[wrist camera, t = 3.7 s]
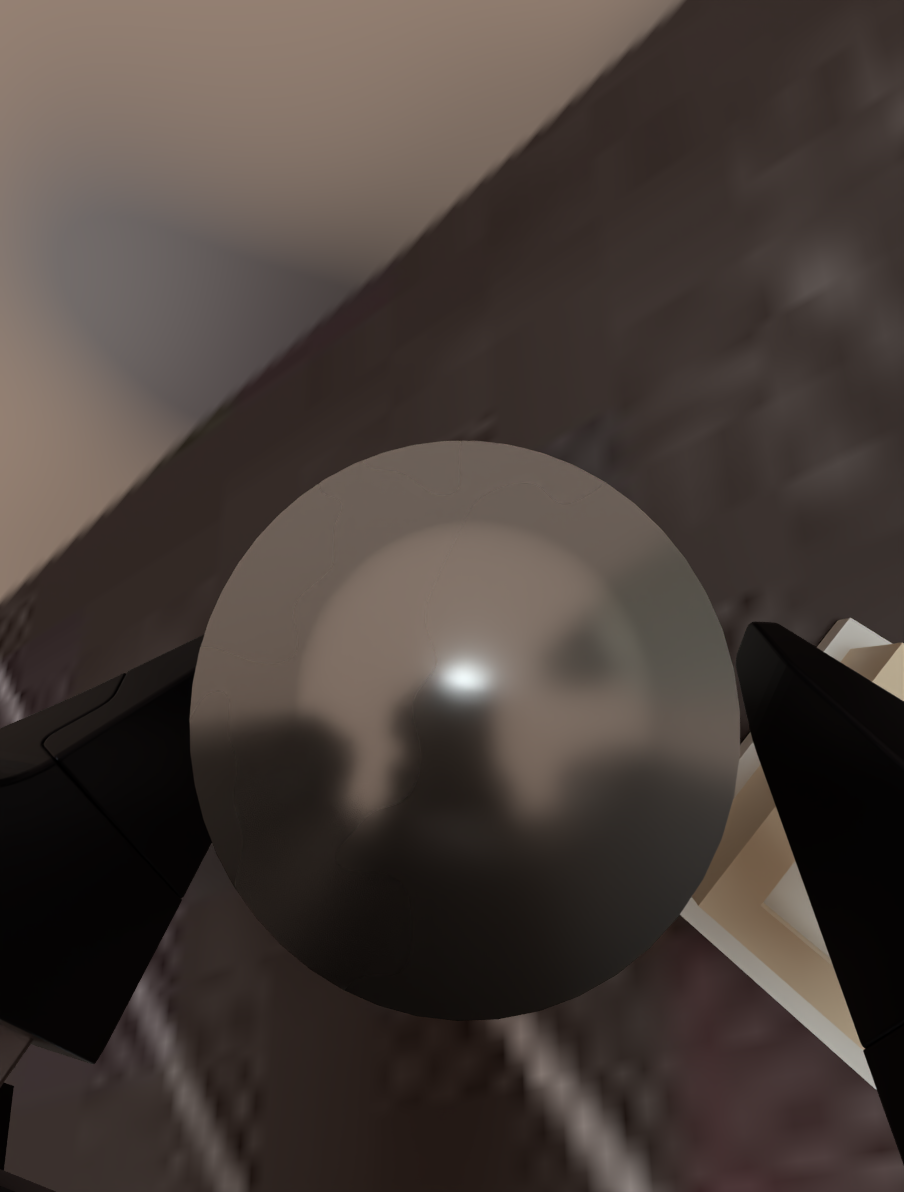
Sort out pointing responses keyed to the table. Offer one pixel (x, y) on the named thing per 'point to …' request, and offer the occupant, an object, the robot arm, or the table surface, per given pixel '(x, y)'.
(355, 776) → the clear drinking glass
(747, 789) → the white oblong stand
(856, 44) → the table surface
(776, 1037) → the table surface
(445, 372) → the table surface
